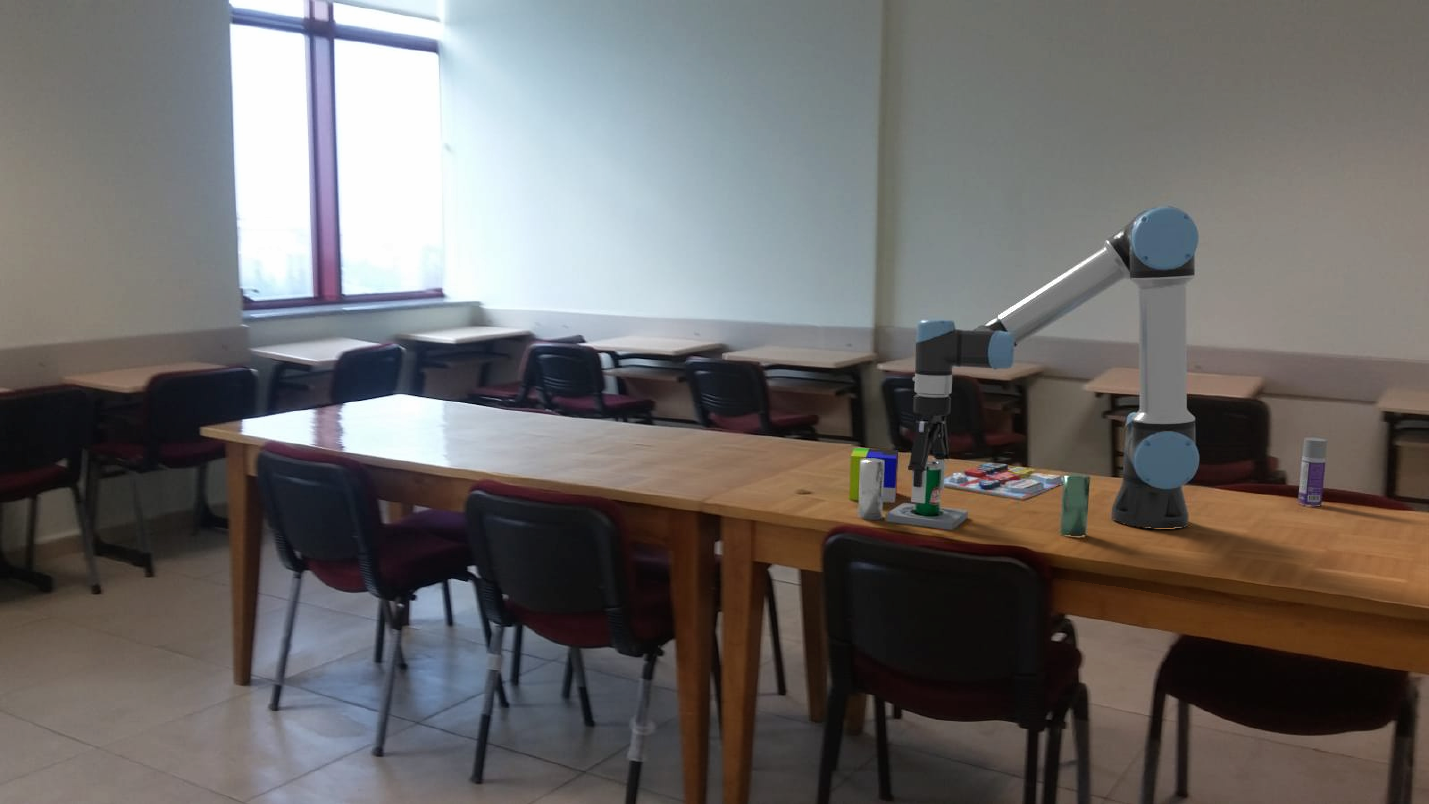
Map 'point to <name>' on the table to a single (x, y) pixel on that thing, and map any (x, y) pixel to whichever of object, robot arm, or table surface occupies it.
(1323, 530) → the table surface
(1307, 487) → the container
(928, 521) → the socket board
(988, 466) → the puzzle board
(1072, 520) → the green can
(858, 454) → the puzzle toy
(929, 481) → the soda can
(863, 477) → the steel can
